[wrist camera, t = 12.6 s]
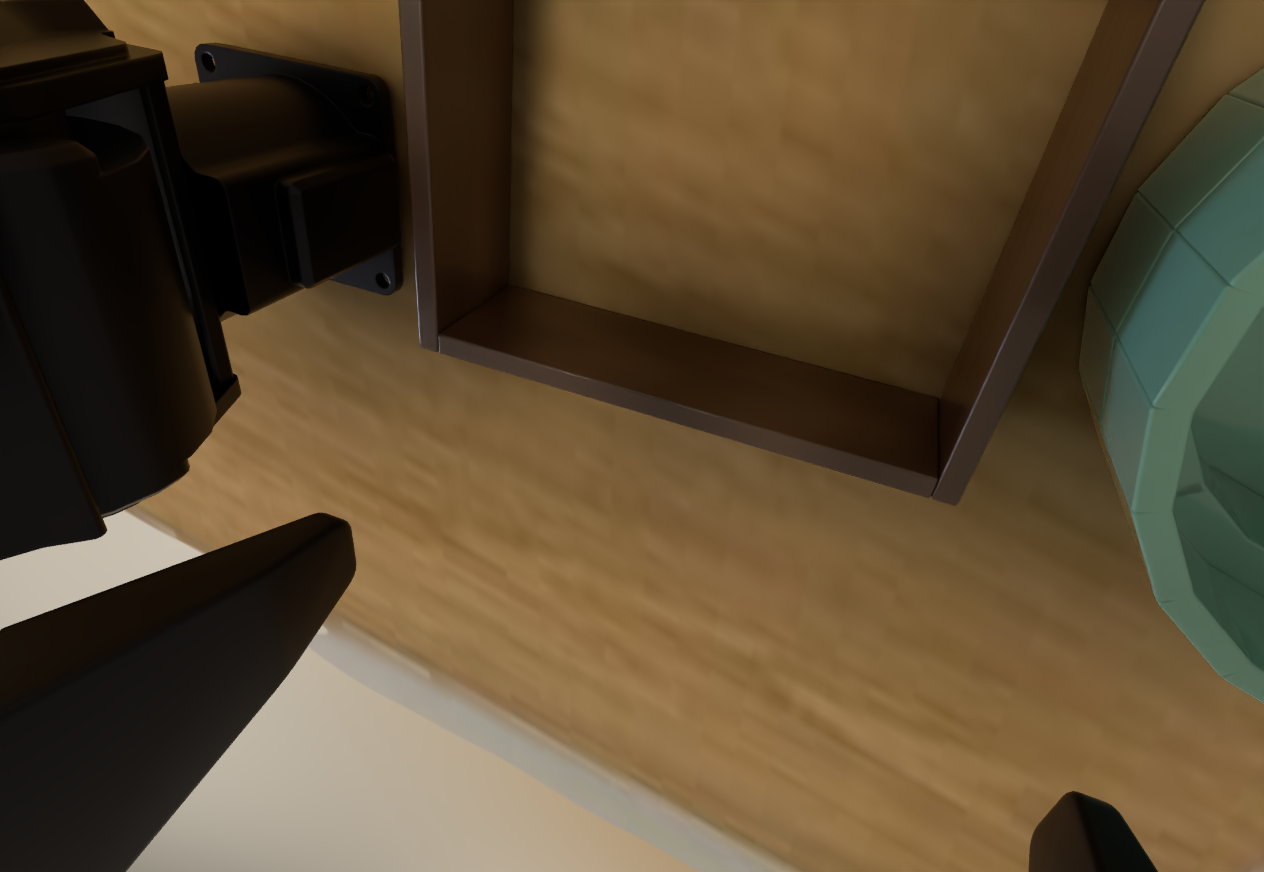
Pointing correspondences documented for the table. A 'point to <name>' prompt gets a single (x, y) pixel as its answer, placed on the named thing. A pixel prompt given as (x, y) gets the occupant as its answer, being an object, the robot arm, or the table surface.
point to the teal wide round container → (1191, 381)
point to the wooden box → (726, 373)
